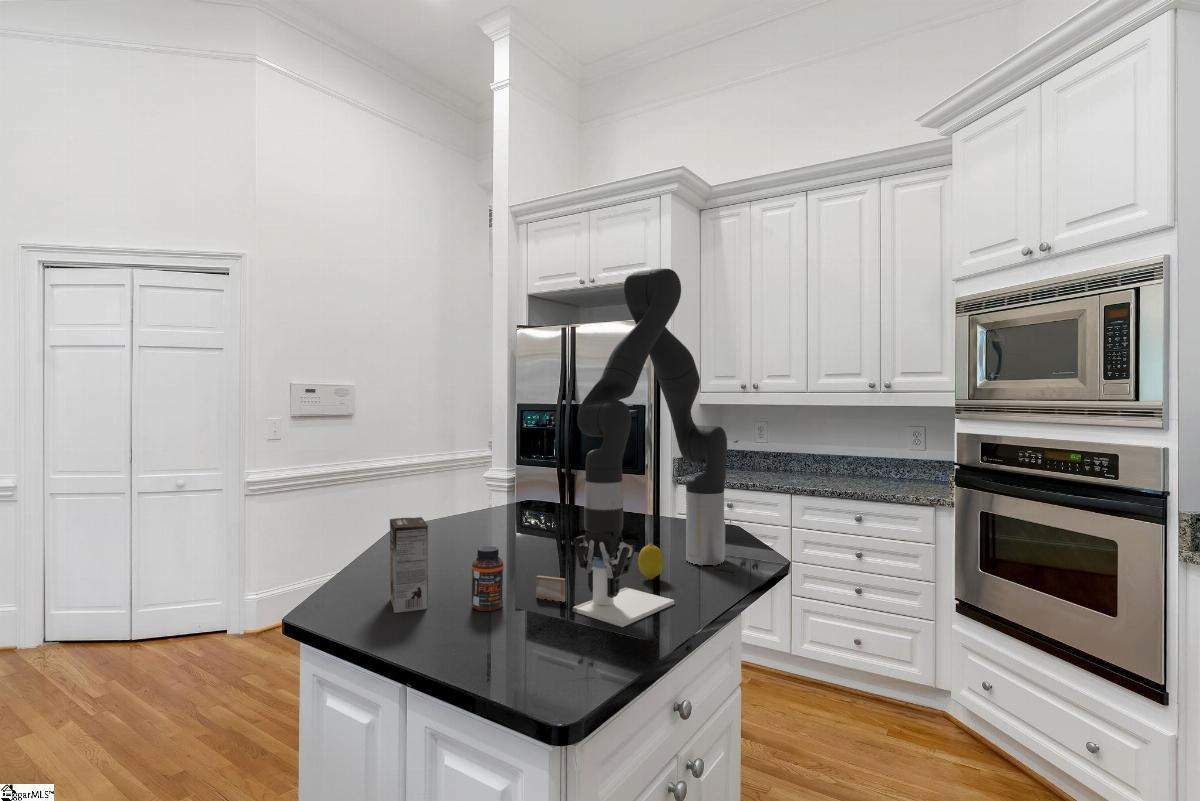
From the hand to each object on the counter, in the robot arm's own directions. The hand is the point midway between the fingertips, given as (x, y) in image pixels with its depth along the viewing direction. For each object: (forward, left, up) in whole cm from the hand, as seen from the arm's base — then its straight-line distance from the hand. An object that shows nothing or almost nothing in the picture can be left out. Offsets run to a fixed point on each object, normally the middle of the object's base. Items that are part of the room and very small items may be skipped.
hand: (603, 593), depth 118 cm
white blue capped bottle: (0, 0, -1) cm, 1 cm away
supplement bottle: (+14, -17, -3) cm, 22 cm away
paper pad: (-3, +3, -3) cm, 5 cm away
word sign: (+3, -11, -3) cm, 12 cm away
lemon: (-21, -4, -3) cm, 21 cm away
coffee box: (+23, -30, -3) cm, 38 cm away
